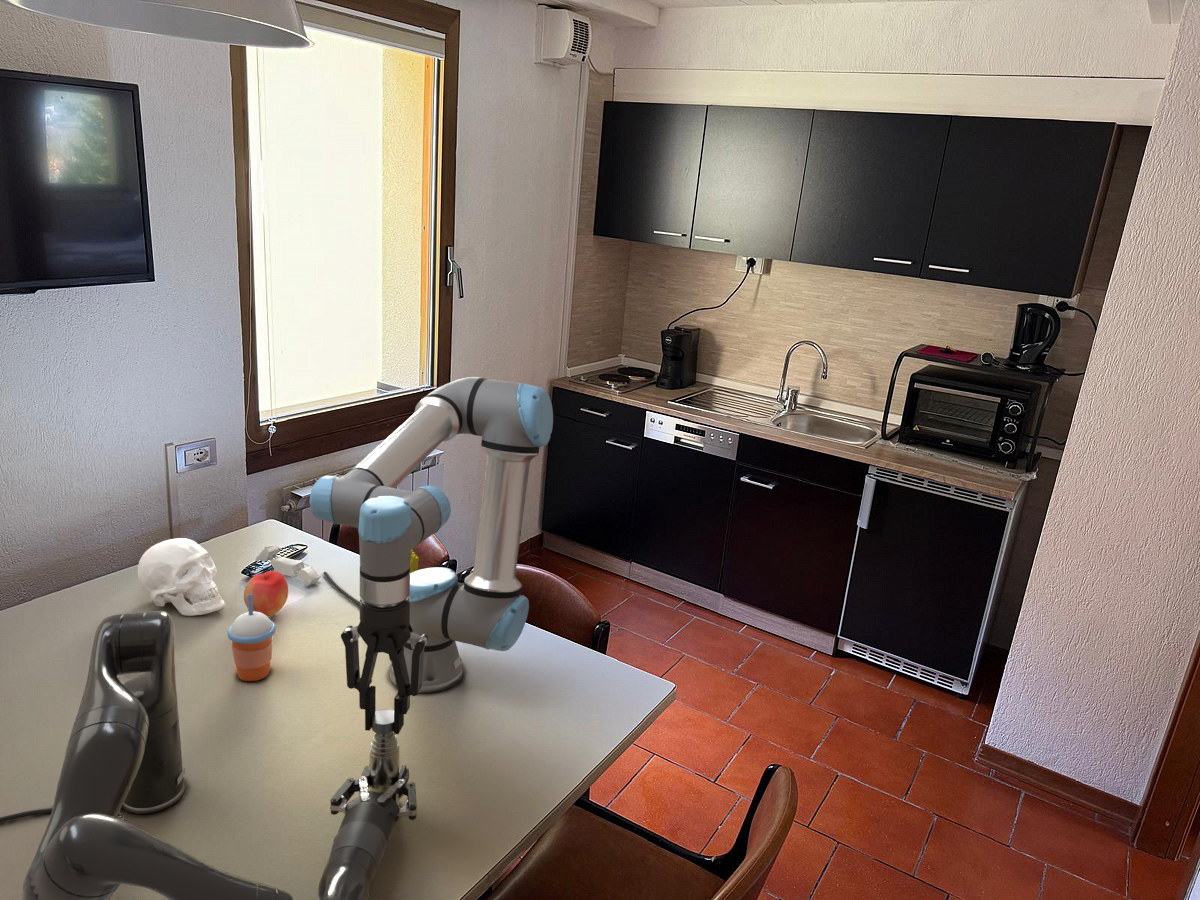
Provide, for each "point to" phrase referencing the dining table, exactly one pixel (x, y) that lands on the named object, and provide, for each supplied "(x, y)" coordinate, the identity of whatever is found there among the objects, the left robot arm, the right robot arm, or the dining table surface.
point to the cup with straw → (252, 643)
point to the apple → (267, 592)
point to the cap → (383, 721)
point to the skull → (180, 576)
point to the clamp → (288, 565)
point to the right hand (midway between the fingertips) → (384, 726)
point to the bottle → (384, 762)
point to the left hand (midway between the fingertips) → (388, 768)
